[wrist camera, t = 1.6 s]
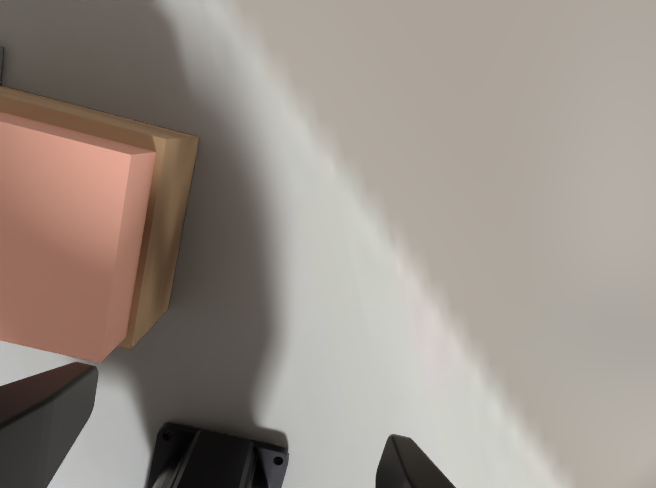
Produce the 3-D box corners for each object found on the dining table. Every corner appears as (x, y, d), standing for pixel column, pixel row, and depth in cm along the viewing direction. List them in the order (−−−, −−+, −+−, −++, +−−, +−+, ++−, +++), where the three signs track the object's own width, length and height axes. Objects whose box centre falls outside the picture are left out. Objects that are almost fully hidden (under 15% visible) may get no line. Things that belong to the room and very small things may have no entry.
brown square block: (167, 309, 21) (131, 349, 17) (-7, 267, 20) (-86, 299, 17) (199, 137, 19) (166, 139, 15) (7, 87, 19) (-78, 75, 15)
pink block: (126, 336, 17) (100, 363, 15) (-23, 301, 17) (-69, 324, 15) (156, 151, 15) (131, 155, 13) (-9, 109, 15) (-59, 106, 13)
